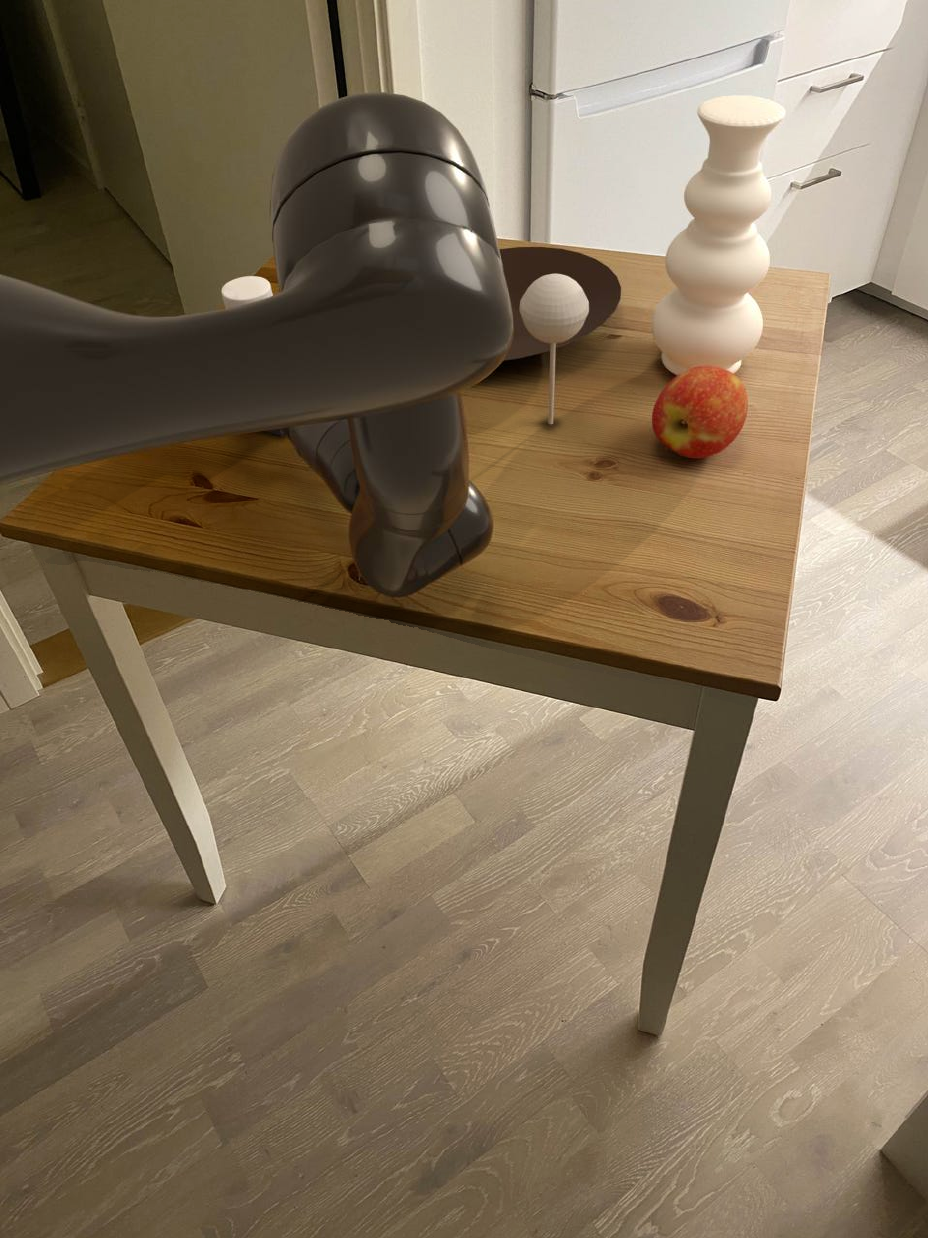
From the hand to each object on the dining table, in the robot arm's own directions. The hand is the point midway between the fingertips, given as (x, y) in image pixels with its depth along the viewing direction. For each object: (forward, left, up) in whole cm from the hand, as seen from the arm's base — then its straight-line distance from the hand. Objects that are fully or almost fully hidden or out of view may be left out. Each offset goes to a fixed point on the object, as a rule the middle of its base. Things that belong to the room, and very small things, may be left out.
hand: (265, 340), depth 90 cm
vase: (+25, -36, -8) cm, 45 cm away
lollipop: (+9, -26, -8) cm, 28 cm away
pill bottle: (+2, +3, -8) cm, 9 cm away
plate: (+25, -12, -8) cm, 29 cm away
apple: (+11, -40, -8) cm, 42 cm away
